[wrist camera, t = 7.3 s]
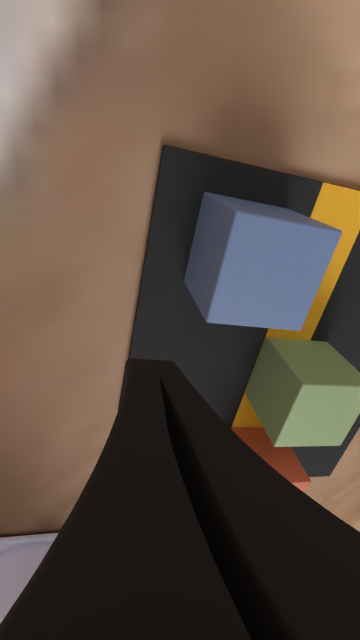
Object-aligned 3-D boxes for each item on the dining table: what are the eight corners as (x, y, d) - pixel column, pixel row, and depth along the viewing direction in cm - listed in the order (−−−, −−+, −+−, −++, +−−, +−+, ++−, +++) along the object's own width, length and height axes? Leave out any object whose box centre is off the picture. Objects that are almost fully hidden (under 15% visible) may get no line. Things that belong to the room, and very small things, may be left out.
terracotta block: (260, 467, 25) (287, 524, 21) (208, 469, 24) (226, 529, 20) (279, 427, 23) (311, 481, 19) (223, 427, 22) (247, 485, 18)
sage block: (302, 394, 22) (341, 446, 18) (244, 393, 21) (273, 447, 17) (327, 341, 20) (376, 387, 16) (265, 336, 19) (303, 383, 15)
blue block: (260, 290, 17) (301, 332, 14) (183, 281, 16) (205, 323, 12) (288, 208, 15) (344, 231, 12) (203, 191, 14) (236, 210, 11)
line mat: (327, 472, 27) (329, 476, 27) (108, 482, 23) (108, 487, 22) (481, 219, 18) (486, 220, 18) (162, 144, 13) (163, 144, 13)
